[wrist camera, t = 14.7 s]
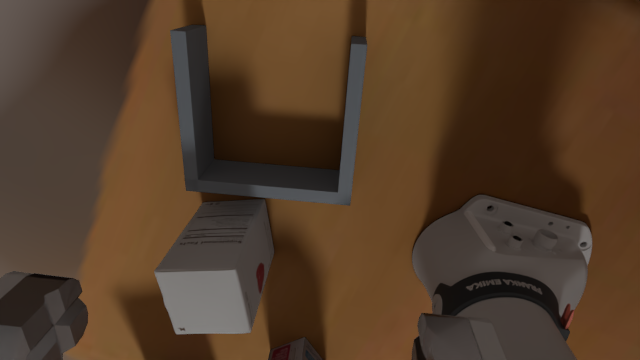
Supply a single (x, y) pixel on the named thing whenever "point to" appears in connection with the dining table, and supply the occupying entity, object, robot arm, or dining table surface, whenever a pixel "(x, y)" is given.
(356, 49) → the open u-shaped frame
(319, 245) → the dining table surface
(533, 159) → the dining table surface
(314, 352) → the juice carton
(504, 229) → the robot arm
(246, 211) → the supplement box
